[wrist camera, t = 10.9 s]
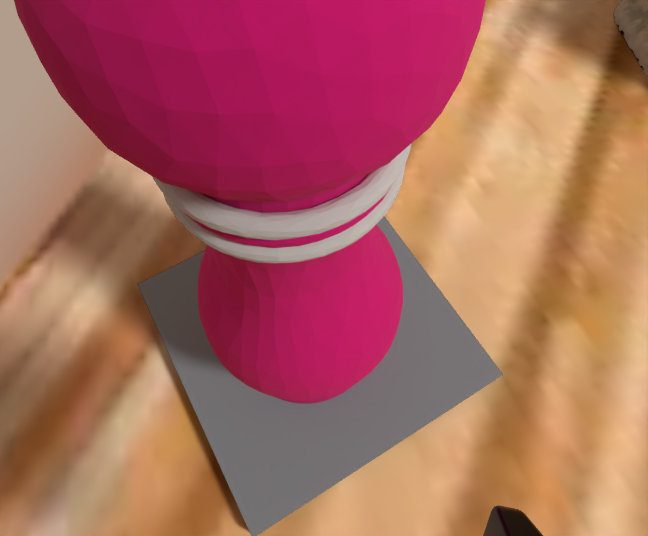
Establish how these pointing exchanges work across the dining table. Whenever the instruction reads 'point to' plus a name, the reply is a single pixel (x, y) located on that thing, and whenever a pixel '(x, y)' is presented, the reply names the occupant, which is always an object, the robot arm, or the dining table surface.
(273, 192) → the pepper mill
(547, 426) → the dining table surface
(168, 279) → the mat
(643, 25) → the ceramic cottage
